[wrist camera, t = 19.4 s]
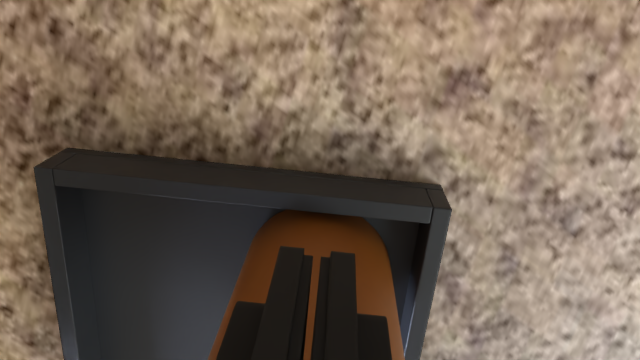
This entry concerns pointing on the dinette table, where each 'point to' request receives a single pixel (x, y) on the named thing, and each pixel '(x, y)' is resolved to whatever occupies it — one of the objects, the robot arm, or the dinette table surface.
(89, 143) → the dinette table surface
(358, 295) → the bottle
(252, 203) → the tray
